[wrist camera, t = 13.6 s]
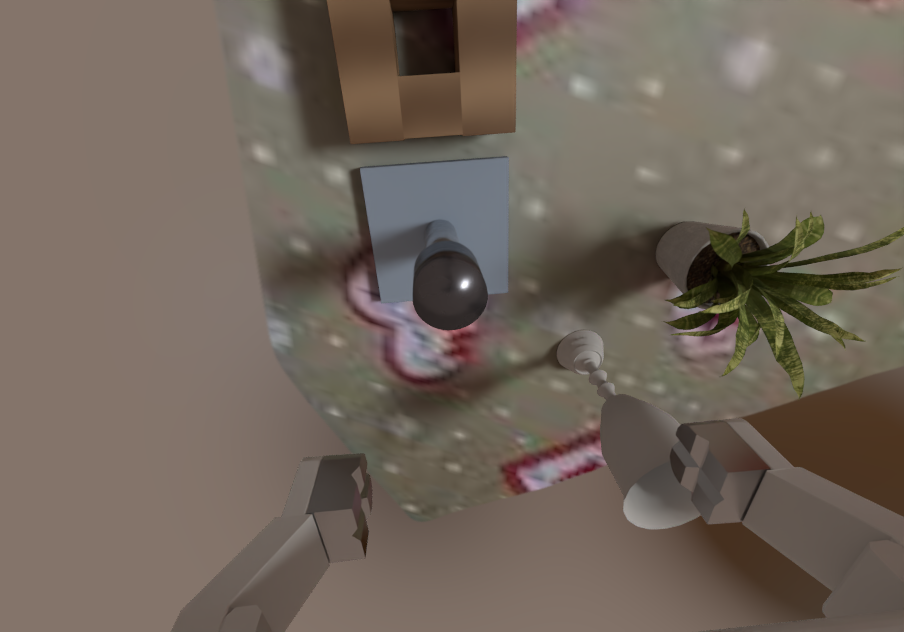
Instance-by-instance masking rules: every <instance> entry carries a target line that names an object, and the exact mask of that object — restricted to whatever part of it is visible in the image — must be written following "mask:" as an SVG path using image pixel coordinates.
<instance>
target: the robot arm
mask: <svg viewBox="0 0 904 632" xmlns="http://www.w3.org/2000/svg"><path fill="white" fill-rule="evenodd" d="M676 436H677V438H678V439H679V441H678V442H677V443H676V444H675V445H674V446H673V447H672V449H671V453H670V463H671V468H672V471H673V473H674V475H675V477H676V479H677V480H678V482H679V483H680V485H682V486H683V487H685V488H687V489H688V490H690V491H691V501H692V502H693V504H694V505H695V507H696V508H697V510H698V511H699V513H700V514H701V515H702V517H703V518H704V520H705V521H706V523H707V524H718V523H732V522H742V524H743V525H745V526H746V527H747V528H748V529H750V530H751V531H753V532H754V533H755V534H757V535H758V536H759V537H761V538H762V539H763V540H765V541H766V542H767V543H769V544H770V545H771V546H773V547H774V548H775V549H777V550H778V551H779V552H781V553H782V554H783V555H785V556H786V557H787V558H789V559H790V560H791V561H793V562H794V563H796V564H797V565H798V566H800V567H801V568H802V569H804V570H805V571H806V572H808V573H809V574H810V575H812V576H813V577H815V578H816V579H817V580H819V581H820V582H821V583H822V584H824V585H825V586H826V587H828V588H829V589H830V590H832V591H833V592H832V593H831V595H830V596H829V597H828V599H827V600H826V602H825V603H824V604H823V609H822V612H823V613H824V614H825V616H826V617H827V618H820V619H811V620H801V621H792V622H783V623H774V624H765V625H756V626H747V627H737V628H728V629H719V630H710V631H701V632H904V517H902V516H900V515H898V514H896V513H894V512H892V511H890V510H888V509H886V508H884V507H882V506H879V505H877V504H875V503H873V502H871V501H869V500H867V499H865V498H863V497H861V496H859V495H857V494H855V493H853V492H851V491H848V490H846V489H844V488H842V487H840V486H838V485H836V484H834V483H832V482H830V481H828V480H826V479H824V478H822V477H820V476H818V475H815V474H813V473H812V472H809V471H807V470H805V469H803V468H801V467H797V468H794V467H793V466H792V465H791V464H790V463H789V462H788V461H787V460H786V459H785V458H784V457H783V456H782V455H781V454H780V453H779V452H778V451H777V450H776V449H775V448H774V447H773V446H772V445H771V444H770V443H769V442H767V441H766V440H765V439H764V438H763V437H762V436H761V435H760V434H759V433H758V432H757V431H756V430H755V429H754V428H753V427H752V426H751V425H750V424H749V423H748V422H747V421H745V420H743V419H741V418H735V419H725V420H713V421H704V422H694V423H684V424H681V425H680V426H679V427H678V428H677V431H676ZM366 469H367V460H366V456H365V454H363V453H360V454H345V455H329V456H319V457H306V458H303V459H302V461H301V462H300V464H299V467H298V470H297V473H296V476H295V478H294V481H293V484H292V487H291V490H290V493H289V496H288V499H287V502H286V505H285V508H284V511H283V514H282V516H281V517H276V518H274V519H273V520H272V521H271V522H270V523H269V524H268V525H267V526H266V527H265V528H264V529H263V530H262V531H261V532H260V533H259V534H258V535H257V536H256V537H255V538H254V539H253V540H252V541H251V542H250V543H249V544H248V545H247V546H246V547H245V548H244V549H243V550H242V551H241V552H240V553H239V554H238V555H237V556H236V557H235V558H234V559H233V560H232V561H231V562H230V563H229V564H228V565H227V566H226V567H225V568H223V570H221V572H219V574H217V575H216V576H215V577H214V578H213V579H212V580H211V581H210V582H209V583H208V584H207V585H206V586H205V587H204V588H203V589H202V590H201V591H200V592H199V593H198V594H197V595H196V596H195V597H194V598H193V599H192V600H191V601H190V602H189V603H188V604H187V605H186V606H185V607H184V608H183V609H182V610H181V611H180V614H179V616H178V618H177V620H176V622H175V624H174V626H173V628H172V631H171V632H285V630H286V629H287V628H288V626H289V625H290V623H291V622H292V620H293V619H294V617H295V616H296V614H297V613H298V611H299V610H300V608H301V607H302V606H303V604H304V603H305V601H306V600H307V598H308V597H309V595H310V594H311V592H312V591H313V589H314V588H315V587H316V585H317V584H318V582H319V580H320V579H321V578H322V576H323V575H324V573H325V572H326V570H327V569H328V567H329V566H330V565H329V563H334V562H342V561H350V560H357V559H365V558H366V550H367V543H368V535H369V530H368V525H367V521H366V520H367V519H368V517H369V516H370V515H371V510H372V483H371V478H370V475H369V474H367V473H366Z"/></svg>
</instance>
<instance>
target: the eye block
mask: <svg viewBox="0 0 904 632" xmlns="http://www.w3.org/2000/svg"><path fill="white" fill-rule="evenodd" d="M327 5H328V11H329V17H330V23H331V29H332V35H333V41H334V47H335V53H336V59H337V65H338V71H339V77H340V83H341V89H342V95H343V101H344V107H345V113H346V119H347V125H348V131H349V137H350V143H351V144H360V143H373V142H387V141H401V140H405V139H407V138H421V137H435V136H449V135H462V136H470V135H484V134H498V133H512V132H515V125H516V35H517V0H327ZM445 8H452V18H453V38H454V58H455V73H443V74H428V75H413V76H400V74H399V65H398V55H397V46H396V36H395V27H394V18H393V12H397V11H413V10H429V9H445Z"/></svg>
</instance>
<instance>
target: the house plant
mask: <svg viewBox="0 0 904 632" xmlns="http://www.w3.org/2000/svg"><path fill="white" fill-rule="evenodd" d="M823 233H824V223H823V219H822V217H821V215H820V216H819V217H813V216H812V213H811V212H810V218H807V219H805V220H804V221H802V222H801V223H800V222H799V221H798V219H797V217H796V227H795V228H794V229H793V230H792V231H791V232H790V233H789V234H788V235H787V236H786V237H785V238H784V239H783V240H781V241H780V242H779V243H777V244H775V245H773V246H770V247H769V245H768V244H767V242H766V240H765V239H764V237H763V236H761V235H760V234H759V233H757V232H756V231H752V230H750V225H749V218H748V214H747V213H746V211H745V208H744V212H743V222H742V228H737V227H730V226H723V225H715V224H708V223H701V222H694V221H691V222H683V223H679V224H677V225H675V226H674V227H672V228H671V229H669V230H668V231H667V232H666V233H665V234H664V235H663V237H662V238H661V239H660V241H659V243H658V245H657V249H656V261H657V264H658V265H659V267H660V268H661V269H662V270H663V271H664V272H665V274H666V275H667V276H668V277H669V278H670V279H671V280H672V282H673V283H674V284H675V285H676V286H677V287H678V288H679V290H680V291H681V292H682V293H683V294H682V295H681V296H679V297H676V298H674V299H671V300H666V301H669V302H671V303H673V304H674V306H678V307H679V308H683V309H691V308H696V307H699V308H702V309H706V310H704V311H699V312H698V313H695V314H691V315H688V316H685V317H682V318H679V319H677V320H675V321H670V322H665V323H667V324H669V325H671V326H673V327H675V328H677V329H683V330H690V329H694V328H697V327H699V326H701V325H703V324H705V323H706V322H708V321H709V320H711V319H712V318H713V317H714V316H715V315H716V313H719V320H718V324H717V325H716V326H715V327H714V328H713V329H712V330H710V331H698V332H685V333H677V334H671V335H689V336H708V335H712V334H715V333H718V332H720V331H721V330H723V329H725V328H726V327H728V326H729V325H731V324H732V323H734V322H735V320H736V318H737V316H738V319H739V325H738V329H737V333H736V347H735V353H734V355H733V357H732V359H731V361H730V362H729V364H728V366H727V368H726V370H725V372H724V374H723V375H722V376H724V375H726V374H728V373H729V372H731V371H732V370H733V369H735V368H736V367H737V366H738V365H739V363H740V362H741V360H742V358H743V357H744V355H745V351H746V347H747V346H749V345H751V344H752V343H753V342H754V341H756V340H757V338H758V335H759V330H760V328H762V330H763V332H764V334H765V335H766V337H767V340H768V342H769V344H770V346H771V349H772V351H773V354H774V356H775V359H776V361H777V362H778V363H779V364H780V365H781V366H782V367H783V368H784V369H785V371H786V372H787V373H788V374H789V376H790V378H791V381H792V384H793V387H794V390H795V391H796V392H797V394H798V396H799V399H800V397H801V395H802V392H803V387H804V373H803V367H802V362H801V360H800V357H799V355H798V352H797V350H796V347H795V345H794V342H793V339H792V336H791V334H790V332H789V330H788V328H787V326H786V324H785V323H784V318H783V315H782V313H781V311H780V309H781V310H783V311H785V312H786V313H788V314H790V315H791V316H793V317H795V318H796V319H798V320H800V321H801V322H803V323H804V324H806V325H808V326H810V327H812V328H814V329H816V330H818V331H821V332H824V333H826V334H830V335H831V336H832V337H833V338H834V339H835V340H836V341H838V342H839V343H840V344H841V345H842V346H843V347H844V349H845V345H844V343H843V341H842V339H841V338H844V339H849V340H856V341H864V340H862V339H860V338H859V337H858V336H856V335H855V334H852V333H850V332H847V331H844V330H843V329H842V328H840V327H839V326H838V325H836V324H835V323H833V322H831V321H829V320H827V319H824V318H822V317H820V316H818V315H817V314H816V313H814V312H813V311H811V310H810V309H809V308H807V307H806V306H804V305H803V304H801V303H800V302H798V301H801V302H804V303H807V304H810V305H814V306H822V305H826V304H829V303H831V301H832V294H833V293H832V292H831V291H830V290H829V289H834V290H858V289H865V288H869V287H872V286H876V285H879V284H883V283H885V282H888V281H890V280H892V279H894V278H896V277H893V278H889V279H885V280H880V281H876V282H870V281H873V280H877V279H880V278H883V277H886V276H888V275H890V274H892V273H894V272H896V271H899V270H900V269H902V268H900V269H892V270H880V271H876V272H871V273H866V272H848V273H839V274H828V275H815V274H802V273H785V272H777V271H778V270H780V269H781V268H786V267H794V266H801V265H807V264H812V263H817V262H822V261H827V260H833V259H838V258H843V257H849V256H853V255H857V254H861V253H865V252H869V251H872V250H874V249H877V248H880V247H883V246H885V245H888V244H890V243H891V242H893V241H895V240H896V239H898V238H900V237H901V236H903V235H904V227H903V228H902V229H900V230H898V231H897V232H895V233H893V234H891V235H889V236H887V237H885V238H883V239H881V240H879V241H876V242H873V243H871V244H868V245H865V246H863V247H859V248H855V249H851V250H847V251H843V252H838V253H833V254H828V255H825V256H821V257H817V258H813V259H808V260H803V261H798V262H792V263H788V262H789V261H790V260H792V259H793V258H795V257H796V256H797V255H798V254H799V253H800V252H801V251H802V250H803V249H804V248H807V247H808V246H810V245H812V244H814V243H815V242H817V241H818V240H819V239H821V237H822V235H823ZM791 254H792V256H791V259H790V260H789V261H787V262H784V263H782V264H779V265H771V266H769V264H773V263H775V262H778V261H781V260H783V259H785V258H786V257H788V256H790V255H791ZM898 277H899V276H898ZM865 282H870V283H865ZM762 296H764V297H765V298H766V299H767V301H768V302H769V305H770V306H769V305H768V303H767V302H766V301H765V299H764V298H763V297H762ZM797 300H798V301H797ZM745 304H746V305H745ZM770 307H771V308H770ZM779 308H780V309H779ZM752 314H753V315H754V316H755V318H756V319H757V321H758V323H757V321H756V319H755V318H754V316H753V315H752ZM663 322H664V321H663ZM720 377H721V376H720Z"/></svg>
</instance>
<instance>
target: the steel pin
mask: <svg viewBox="0 0 904 632" xmlns="http://www.w3.org/2000/svg"><path fill="white" fill-rule="evenodd" d="M424 240H425V249H424V250H423V251H422V252H421V253H420V254H419V256H418V257H417V259H416V262H415V265H414V272H413V305H414V308H415V310H416V312H417V314H418V315H419V317H420V318H421V319H422V320H423V321H424V322H426V323H427V324H429V325H430V326H432V327H435V328H438V329H442V330H456V329H460V328H464V327H466V326H468V325H470V324H471V323H473V322H474V321H475V320H477V319H478V318H479V316H480V315H481V314H482V312H483V311H484V309H485V307H486V304H487V299H488V291H487V286H486V283H485V280H484V278H483V275H482V272H481V270H480V267H479V265H478V262H477V259H476V257H475V256H474V254H473V253H472V251H471V250H470V249H469V248H467V247H466V246H464V245H463V244H460V243H459V240H458V237H457V233H456V230H455V228H454V226H453V225H452V224H451V223H450V222H448V221H446V220H442V219H439V220H435V221H433V222H431V223H430V224H429V225H428V226H427V227H426V229H425V233H424Z"/></svg>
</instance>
